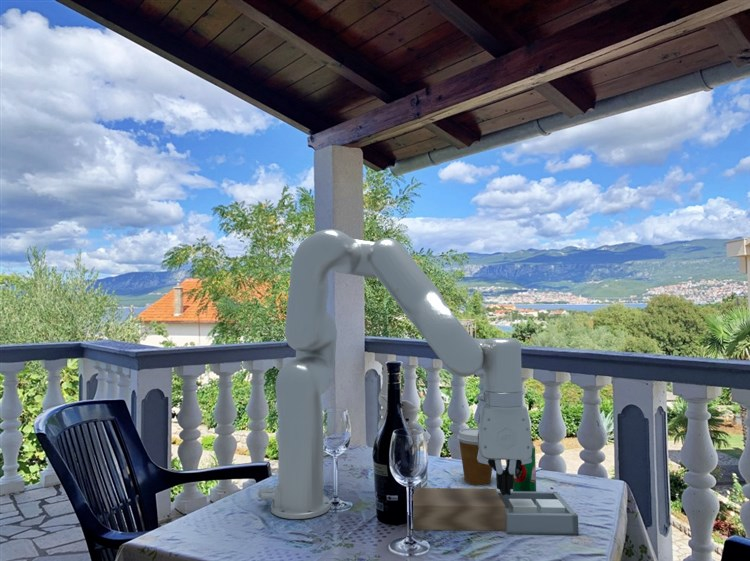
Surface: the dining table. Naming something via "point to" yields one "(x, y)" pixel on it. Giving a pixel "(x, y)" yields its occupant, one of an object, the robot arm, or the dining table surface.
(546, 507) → the tile
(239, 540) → the dining table surface
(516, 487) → the soda can
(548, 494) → the tray
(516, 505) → the tile
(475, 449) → the disposable coffee cup
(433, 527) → the wooden base board
